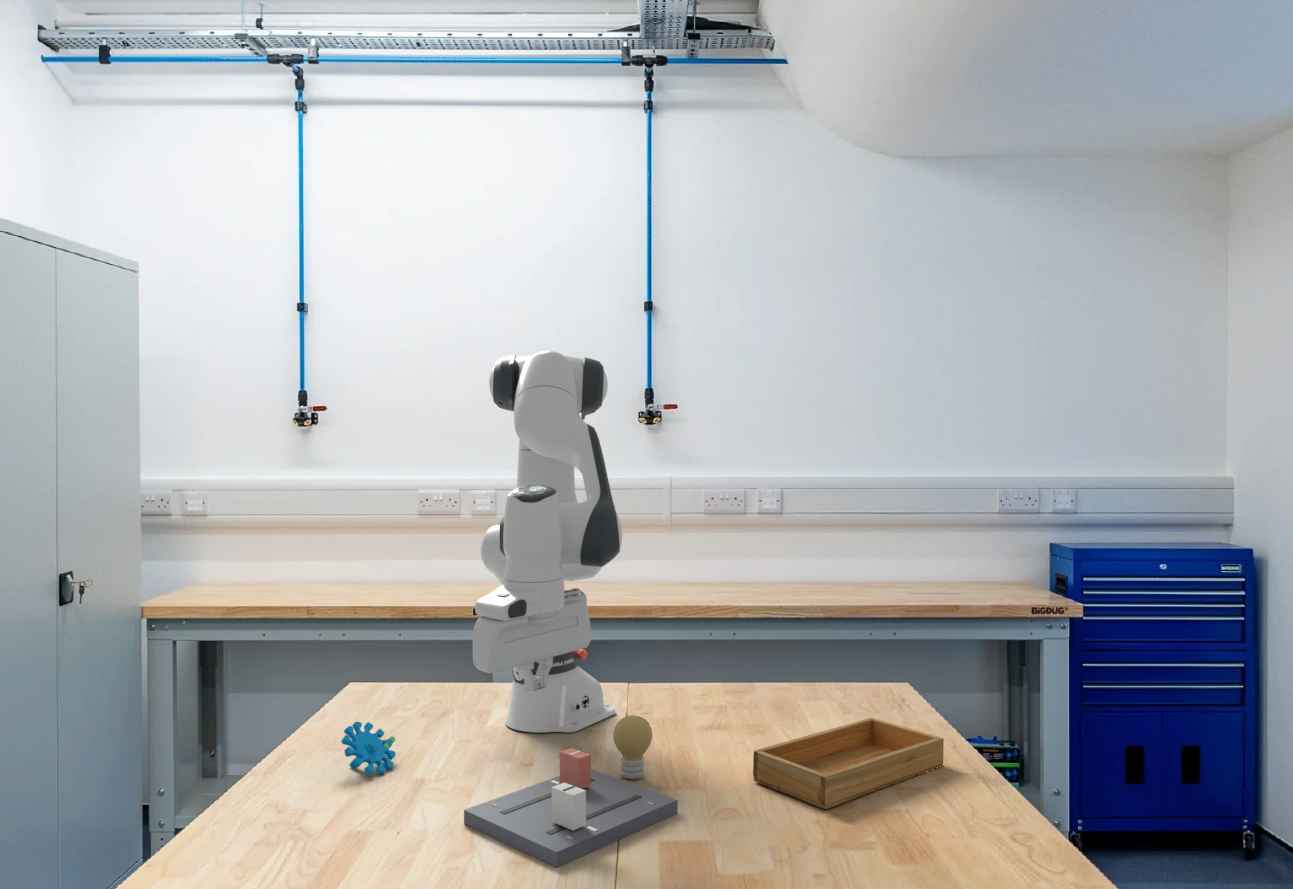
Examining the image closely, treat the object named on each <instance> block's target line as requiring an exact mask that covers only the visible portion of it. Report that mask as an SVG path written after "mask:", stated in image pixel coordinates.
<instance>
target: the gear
mask: <svg viewBox="0 0 1293 889" xmlns="http://www.w3.org/2000/svg"><path fill="white" fill-rule="evenodd" d="M362 726H363V723H362V722H360V721H354V723H353V724H352V726H351V725H348V726H347V727H346V728H345V729H344V730H343V732H344V734H345V735H344V736H343V738H342V739H341V741H340V742H341V744H342V745H345V746H347V747H346V748H345V749H344V755H345V757H347V758H348V757H349V758H350V757H352V756H353V757H354V756H355V758H353V759H352V761H350V763H349V767H350V768H352V769H354V768H356V769H358V768H359V767H361V765H363V763H367V765H366V767H365V768H364V773H366V774H368V775H372V773H373V772H374V771H375V770H376V771H375V772H376V774H377V775H383V774H385V772H386V771H387V770H390V769H391V768H392V767H393V766H394V764H395V763H394V762H393V761H392V760H393V759H394V758H395V757H396V752H395V750H391V749H390V748H391V747H392V746H393V744H394V743H395V741H396V738H395V737H394V736H390V737H388V738H387V739H381V738H382V737H383V736H384V735H385V731H383V729H382V728H378V729H377V730H376V731H375V733H372V732H371V731H372V729H373V728H374V725H373V723H371V722H369V721H367V722H366V723H365V724H364V726H363V729H364V731H362V730H361V728H362ZM354 731H355V732H354ZM374 765H376V766H377V767H376V769H375V766H374Z"/></svg>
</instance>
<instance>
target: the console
mask: <svg viewBox="0 0 1293 889" xmlns="http://www.w3.org/2000/svg"><path fill="white" fill-rule="evenodd" d="M559 784H562V783H560V775H558V776H555V777H552V778H550V779H546V780H544V781H541V782H539V783H536V784H533V785H530V786H528V787H524V788H521V789H519V790H516V791H514V792H510V793H507V794H505V795H502V796H499V797H497V798H493V799H491V800H488V801H485V802H482V803H479V804H477V805H473V806H471V807H468V808H466V809H463V824H464V825H467V827H470V828H473V829H474V830H477V831H479V832H481V833H483V834H485V835H487V836H489V837H492V838H494V839H496V840H498V841H500V842H502V843H504V844H506V845H508V846H510V847H513V848H515V849H517V850H518V851H520V852H523V853H526V854H528V855H529V856H532V857H533V858H536V859H537V860H540V861H541V862H544V863H546V864H549V865H550V866H552V867H555V868H558V867H561V866H563V865H565V864H567V863H569V862H572V861H575V860H576V859H579V858H580V857H583V856H585V855H587V854H589V853H592V852H594V851H596V850H598V849H601V848H602V847H605V846H607V845H609V844H612V843H614V842H616V841H618V840H621V839H624V838H625V837H628V836H629V835H632V834H634V833H636V832H639V831H640V830H641V831H642V830H643V829H645V828H647V827H650V826H652V825H654V824H657V823H659V822H661V821H663V820H665V819H667V818H670V817H672V816H674V815H676V814H678V812H679V811H678V810H679V807H678V806H679V803H678V802H679V800H678V799H677V798H674V797H671V796H669V795H666V794H663V793H660V792H657V791H654V790H651V789H649V788H646V787H643V786H640V785H638V784H634V783H632V782H629V781H626V780H623V779H621V778H617V777H615V776H613V775H609V774H606V773H604V772H602V771H598V770H595V769H592V768H591V786H589V787H586V788H583V790H586V825H585V826H583V827H580V828H578V829H576V830H571V829H568V828H566V827H563V826H561V825H559V824H556V823H554V822H552V787H553V786H556V785H559Z"/></svg>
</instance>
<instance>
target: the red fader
mask: <svg viewBox="0 0 1293 889" xmlns="http://www.w3.org/2000/svg"><path fill="white" fill-rule="evenodd" d="M591 757H592V756H591V754H590V753H586V752H583V751H582V750H578V749H575V748H573V747H570V748H567V749H564V750H561V751H559V776H560V783H564V782H565V783H567V784H570V785H573V786H575V787H578V788H580V789H583V788H586V787H589V786H591V769H592V766H591V765H592V763H591V760H592V759H591Z"/></svg>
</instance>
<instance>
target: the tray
mask: <svg viewBox="0 0 1293 889" xmlns="http://www.w3.org/2000/svg"><path fill="white" fill-rule="evenodd" d="M944 741H945V740H944V738H943V737H940V736H936V735H934V734H929V733H926V732H922V731H920V730H916V729H913V728H909V727H905V726H902V725H899V724H894V723H892V722H888V721H885V720H881V719H878V718H873V717H868V718H866V719H862V720H858V721H855V722H852V723H848V724H844V725H841V726H838V727H834V728H830V729H826V730H823V731H819V732H816V733H813V734H809V735H806V736H802V737H798V738H794V739H790V740H787V741H784V742H783V741H782V742H780V743H778V744H773V745H771V746H766V747H763V748H760V749H756V750H754V751H753V760H752V761H753V765H752V766H753V768H752V775H753V781H754V782H755V783H758V784H761V785H763V786H765V787H768V788H770V789H773V790H776V791H778V792H780V793H783V794H786V795H789V796H791V797H794V798H796V799H798V800H800V801H804V802H807V803H809V804H811V805H814V806H816V807H818V808H821V809H823V810H828V809H831V808H834V807H836V806H837V805H842V804H843V803H847V802H849V801H852V800H854V799H856V798H857V799H858V798H860V797H862V796H865V795H868V794H871V793H873V792H877V791H879V790H881V789H885V788H887V787H890V786H892V784H893V785H896V784H899V783H901V781H902V782H904V781H907V780H909V778H910V779H913V778H915V777H917V776H916V775H918V776H920V774H921V775H923V773H924V774H926V773H925V772H927V771H930V772H932V771H933V770H932V769H935V768H937V767H940V766H943V767H944V743H945V742H944ZM940 768H941V767H940ZM931 770H932V771H931ZM935 770H936V769H935ZM927 773H928V772H927ZM914 776H915V777H914ZM912 777H913V778H912ZM903 780H904V781H903Z"/></svg>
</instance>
